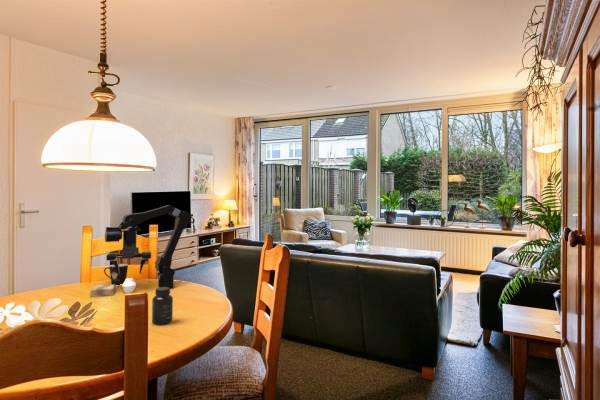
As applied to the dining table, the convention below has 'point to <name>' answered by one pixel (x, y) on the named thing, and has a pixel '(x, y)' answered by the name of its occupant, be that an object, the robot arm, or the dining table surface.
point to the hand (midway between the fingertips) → (129, 274)
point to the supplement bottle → (162, 306)
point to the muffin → (128, 285)
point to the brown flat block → (103, 290)
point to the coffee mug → (114, 275)
